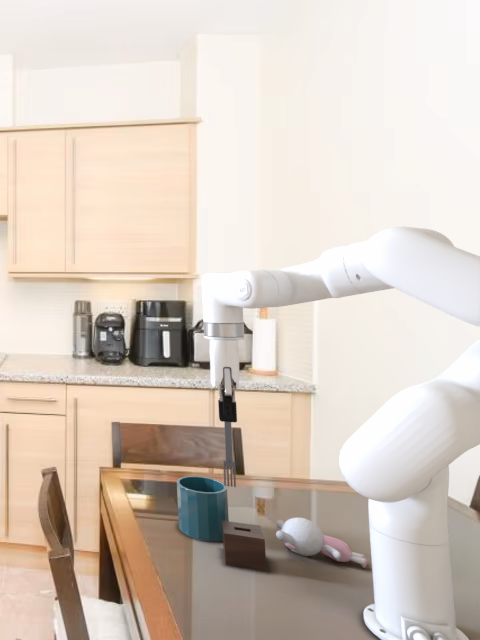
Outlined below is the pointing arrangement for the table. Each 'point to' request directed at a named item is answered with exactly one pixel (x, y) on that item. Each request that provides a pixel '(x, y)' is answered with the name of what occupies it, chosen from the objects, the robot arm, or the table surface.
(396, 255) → the robot arm
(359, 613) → the table surface
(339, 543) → the toy
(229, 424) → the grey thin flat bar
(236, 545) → the utensil block
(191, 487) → the teal cylindrical cup
